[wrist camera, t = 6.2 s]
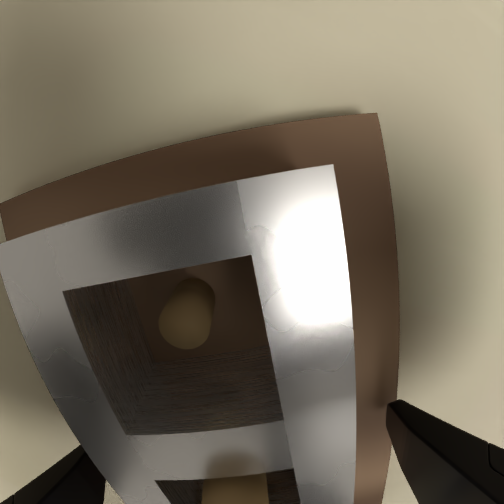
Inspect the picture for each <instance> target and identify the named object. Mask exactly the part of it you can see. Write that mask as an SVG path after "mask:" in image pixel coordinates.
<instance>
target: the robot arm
mask: <svg viewBox="0 0 504 504" xmlns="http://www.w3.org/2000/svg"><path fill="white" fill-rule="evenodd" d="M386 428H387V431H388V434H389V437H390V439H391V442H392V445H393V448H394V450H395V453H396V456H397V459H398V462H399V464H400V467H401V469H402V471H403V473H404V475H405V477H406V479H407V481H408V483H409V485H410V487H411V489H412V491H413V493H414V495H415V497H416V499H417V501H418V503H419V504H504V449H503V448H500V447H498V446H496V445H493V444H491V443H489V444H488V442H487V441H484V440H482V439H480V438H478V437H476V436H474V435H472V434H469V433H467V432H465V431H463V430H461V429H459V428H457V427H455V426H453V425H451V424H449V423H447V422H445V421H443V420H441V419H439V418H437V417H435V416H433V415H431V414H429V413H427V412H425V411H423V410H421V409H419V408H417V407H415V406H413V405H411V404H409V403H407V402H405V401H403V400H400V399H399V400H396V401H393V402H390V403H388V404H387V409H386ZM105 483H106V479H105V478H104V476H103V475H102V474H101V472H100V471H99V470H98V468H97V467H96V466H95V464H94V463H93V461H92V460H91V459H90V457H89V456H88V454H87V453H86V451H85V450H84V448H83V447H82V445H79V446H78V447H77V448H76V449H74V450H73V451H72V452H70V453H69V454H68V455H66V456H65V457H64V458H62V459H61V460H60V461H58V462H57V463H56V464H54V465H53V466H52V467H50V468H49V469H48V470H46V471H45V472H44V473H42V474H41V475H39V476H38V477H37V478H35V479H34V480H33V481H31V482H30V483H28V484H27V485H26V486H24V487H23V488H21V489H20V490H19V491H17V492H16V493H15V494H14V495H12V496H10V497H9V498H7V499H6V500H4V501H3V502H1V503H0V504H103V502H104V493H105Z"/></svg>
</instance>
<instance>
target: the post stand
mask: <svg viewBox="0 0 504 504" xmlns="http://www.w3.org/2000/svg"><path fill="white" fill-rule="evenodd" d="M331 164H333V166H334V172H335V178H336V184H337V190H338V197H339V203H340V210H341V217H342V224H343V231H344V239H345V247H346V256H347V265H348V274H349V284H350V295H351V306H352V319H353V334H354V351H355V375H356V466H355V487H354V503H353V504H382V499H383V494H384V489H385V484H386V478H387V472H388V466H389V460H390V453H391V446H392V442H391V439H390V437H389V434H388V431H387V428H386V409H387V404H388V403H390V402H393V401H396V400H397V386H398V368H399V333H400V313H399V278H398V260H397V246H396V234H395V223H394V214H393V205H392V197H391V189H390V182H389V175H388V168H387V162H386V156H385V150H384V145H383V139H382V134H381V129H380V124H379V119H378V115H377V113H368V114H355V115H344V116H334V117H325V118H317V119H309V120H301V121H294V122H287V123H280V124H274V125H267V126H261V127H256V128H250V129H244V130H239V131H234V132H229V133H224V134H219V135H214V136H209V137H205V138H200V139H196V140H192V141H187V142H183V143H179V144H175V145H171V146H167V147H163V148H159V149H155V150H152V151H148V152H144V153H141V154H137V155H134V156H130V157H127V158H123V159H120V160H117V161H113V162H110V163H107V164H104V165H101V166H98V167H94V168H91V169H88V170H85V171H83V172H80V173H77V174H74V175H71V176H68V177H65V178H63V179H60V180H57V181H54V182H52V183H49V184H46V185H44V186H41V187H39V188H36V189H34V190H31V191H29V192H26V193H24V194H21V195H19V196H17V197H14V198H12V199H10V200H7V201H5V202H3V203H0V213H1V218H2V223H3V227H4V232H5V236H6V240H7V241H10V240H12V239H15V238H18V237H21V236H24V235H27V234H30V233H33V232H36V231H39V230H42V229H46V228H49V227H52V226H55V225H58V224H62V223H65V222H68V221H72V220H75V219H78V218H82V217H85V216H89V215H92V214H96V213H100V212H103V211H107V210H111V209H114V208H118V207H122V206H126V205H129V204H133V203H137V202H141V201H145V200H149V199H153V198H158V197H162V196H166V195H170V194H174V193H179V192H183V191H188V190H192V189H197V188H201V187H206V186H211V185H215V184H220V183H225V182H230V181H235V180H240V179H245V178H251V177H256V176H261V175H267V174H272V173H278V172H284V171H290V170H296V169H302V168H309V167H316V166H323V165H331ZM128 281H129V284H130V287H131V291H132V294H133V297H134V301H135V304H136V307H137V310H138V313H139V316H140V319H141V322H142V325H143V328H144V331H145V334H146V337H147V340H148V343H149V346H150V348H151V351H152V354H153V357H154V359H155V362H162V361H170V360H178V359H186V358H193V357H200V356H207V355H214V354H220V353H226V352H232V351H238V350H244V349H250V348H255V347H261V346H266V345H269V342H268V337H267V331H266V326H265V321H264V316H263V311H262V306H261V301H260V296H259V291H258V286H257V281H256V276H255V271H254V266H253V261H252V256H251V255H247V256H242V257H237V258H232V259H226V260H221V261H216V262H211V263H206V264H201V265H196V266H190V267H185V268H180V269H175V270H170V271H164V272H159V273H154V274H149V275H144V276H139V277H133V278H128ZM201 504H269V498H268V488H267V478H266V473H260V474H253V475H245V476H236V477H225V478H213V479H204V480H203V490H202V501H201Z"/></svg>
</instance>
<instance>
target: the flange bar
mask: <svg viewBox="0 0 504 504" xmlns="http://www.w3.org/2000/svg"><path fill="white" fill-rule="evenodd" d="M247 255H251V256H252V261H253V266H254V271H255V276H256V281H257V286H258V291H259V296H260V301H261V306H262V311H263V316H264V321H265V326H266V331H267V337H268V342H269V345H266V346H261V347H255V348H250V349H244V350H238V351H232V352H226V353H220V354H214V355H207V356H200V357H193V358H186V359H178V360H170V361H162V362H155V359H154V357H153V354H152V351H151V348H150V346H149V343H148V340H147V337H146V334H145V331H144V328H143V325H142V322H141V319H140V316H139V313H138V310H137V307H136V304H135V301H134V297H133V294H132V291H131V287H130V284H129V281H128V278H133V277H139V276H144V275H149V274H154V273H159V272H164V271H170V270H175V269H180V268H185V267H190V266H196V265H201V264H206V263H211V262H216V261H221V260H226V259H232V258H237V257H242V256H247ZM0 272H1V276H2V279H3V282H4V285H5V289H6V292H7V295H8V298H9V300H10V303H11V306H12V309H13V312H14V314H15V317H16V320H17V322H18V325H19V327H20V330H21V332H22V335H23V337H24V340H25V342H26V344H27V347H28V349H29V351H30V353H31V356H32V358H33V360H34V362H35V364H36V366H37V368H38V370H39V372H40V374H41V377H42V379H43V380H44V382H45V384H46V386H47V388H48V390H49V392H50V394H51V396H52V398H53V399H54V401H55V403H56V405H57V407H58V408H59V410H60V412H61V413H62V415H63V417H64V419H65V420H66V422H67V424H68V425H69V427H70V428H71V430H72V432H73V433H74V435H75V436H76V438H77V439H78V441H79V442H80V444H81V445H82V447H83V448H84V450H85V451H86V453H87V454H88V456H89V457H90V459H91V460H92V461H93V463H94V464H95V466H96V467H97V468H98V470H99V471H100V472H101V474H102V475H103V476H104V478H105V479H106V480H107V481H108V483H109V484H110V485H111V487H112V488H113V489H114V490H115V492H116V493H117V494H118V495H119V496H120V498H121V499H122V500H123V501H124V502H125V503H126V504H201V501H202V490H203V480H204V479H213V478H225V477H236V476H245V475H253V474H260V473H266V478H267V488H268V498H269V504H353V503H354V487H355V466H356V375H355V351H354V334H353V319H352V306H351V295H350V284H349V274H348V265H347V256H346V247H345V239H344V231H343V224H342V217H341V210H340V203H339V197H338V190H337V184H336V178H335V172H334V166H333V164H331V165H323V166H316V167H309V168H302V169H296V170H290V171H284V172H278V173H272V174H267V175H261V176H256V177H251V178H245V179H240V180H235V181H230V182H225V183H220V184H215V185H211V186H206V187H201V188H197V189H192V190H188V191H183V192H179V193H174V194H170V195H166V196H162V197H158V198H153V199H149V200H145V201H141V202H137V203H133V204H129V205H126V206H122V207H118V208H114V209H111V210H107V211H103V212H100V213H96V214H92V215H89V216H85V217H82V218H78V219H75V220H72V221H68V222H65V223H62V224H58V225H55V226H52V227H49V228H46V229H42V230H39V231H36V232H33V233H30V234H27V235H24V236H21V237H18V238H15V239H12V240H10V241H7V242H4V243H1V244H0Z"/></svg>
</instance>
